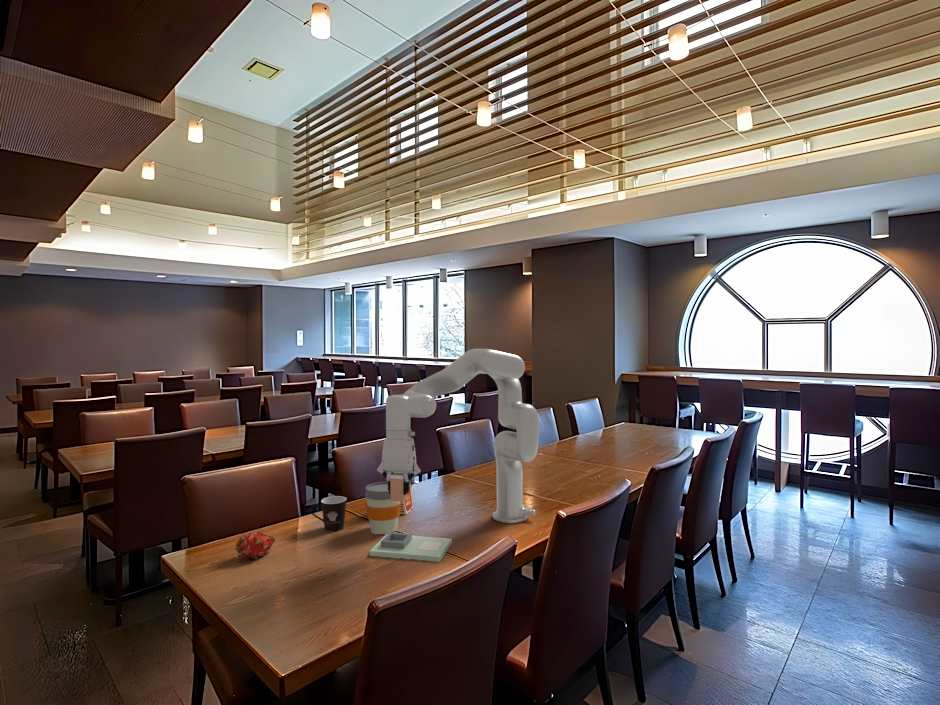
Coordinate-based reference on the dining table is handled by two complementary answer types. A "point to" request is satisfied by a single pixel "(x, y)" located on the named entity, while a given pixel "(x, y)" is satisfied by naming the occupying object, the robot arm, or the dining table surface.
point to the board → (411, 547)
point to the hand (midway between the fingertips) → (398, 492)
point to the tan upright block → (397, 487)
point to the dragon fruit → (254, 545)
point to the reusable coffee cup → (381, 508)
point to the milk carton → (407, 503)
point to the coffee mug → (332, 512)
